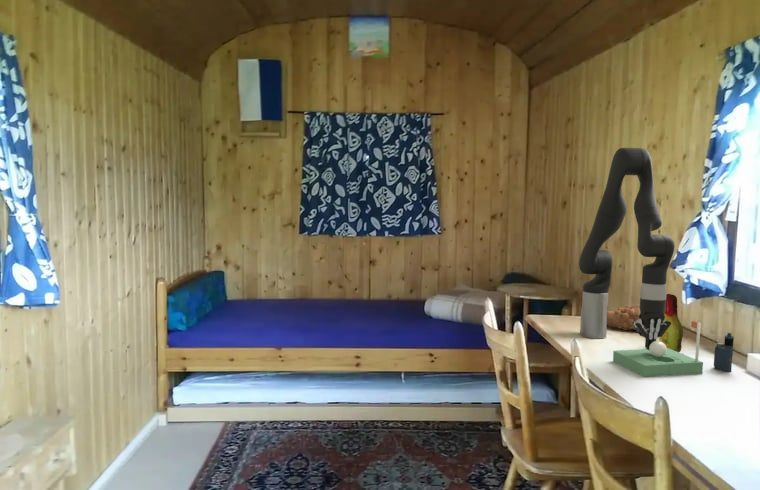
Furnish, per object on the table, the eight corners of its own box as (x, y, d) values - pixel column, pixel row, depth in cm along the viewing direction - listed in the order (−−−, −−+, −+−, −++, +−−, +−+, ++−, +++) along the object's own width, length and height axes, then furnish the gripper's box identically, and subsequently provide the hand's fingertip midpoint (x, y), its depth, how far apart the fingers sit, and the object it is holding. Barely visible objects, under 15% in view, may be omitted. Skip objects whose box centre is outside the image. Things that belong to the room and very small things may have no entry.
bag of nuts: (621, 343, 224) (655, 330, 225) (615, 318, 222) (649, 305, 224) (596, 330, 242) (628, 318, 244) (590, 306, 241) (622, 295, 242)
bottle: (653, 345, 207) (656, 291, 205) (672, 346, 206) (675, 291, 204) (665, 355, 195) (668, 297, 193) (685, 355, 194) (688, 298, 192)
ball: (649, 338, 181) (658, 348, 177) (663, 337, 182) (672, 348, 178) (643, 349, 184) (652, 360, 180) (657, 348, 185) (666, 359, 181)
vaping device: (728, 372, 177) (731, 334, 175) (711, 367, 181) (714, 330, 180) (733, 371, 178) (736, 333, 177) (716, 366, 182) (719, 330, 181)
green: (613, 361, 188) (615, 314, 186) (666, 358, 191) (669, 312, 190) (644, 377, 172) (647, 326, 170) (702, 373, 176) (705, 324, 174)
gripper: (663, 294, 188) (660, 345, 189) (627, 295, 185) (624, 347, 187) (679, 298, 180) (676, 352, 182) (642, 299, 178) (639, 354, 180)
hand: (650, 349), depth 184 cm, fingers closed
